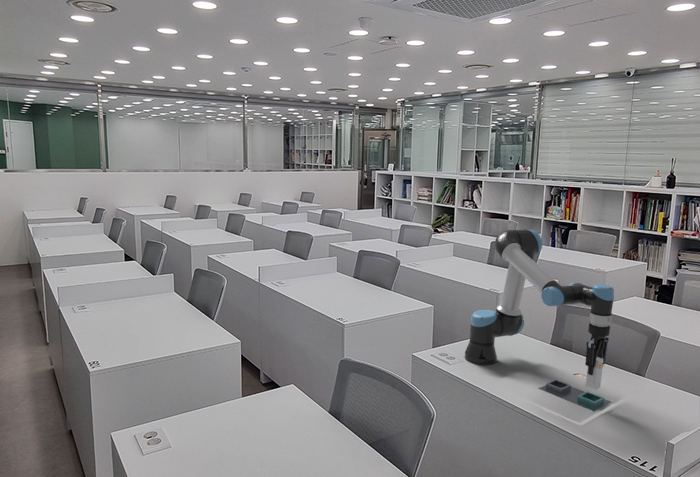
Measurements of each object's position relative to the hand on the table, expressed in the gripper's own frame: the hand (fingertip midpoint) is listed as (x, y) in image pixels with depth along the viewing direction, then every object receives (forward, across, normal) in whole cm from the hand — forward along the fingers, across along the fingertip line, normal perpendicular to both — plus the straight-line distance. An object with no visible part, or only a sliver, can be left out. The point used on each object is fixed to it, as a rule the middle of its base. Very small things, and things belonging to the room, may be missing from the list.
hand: (593, 380), depth 206 cm
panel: (+10, 0, +7) cm, 12 cm away
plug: (+3, 0, 0) cm, 3 cm away
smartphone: (+11, +19, +12) cm, 25 cm away
